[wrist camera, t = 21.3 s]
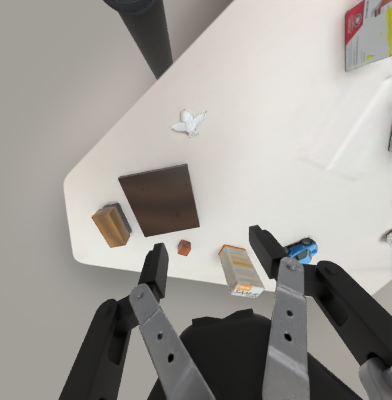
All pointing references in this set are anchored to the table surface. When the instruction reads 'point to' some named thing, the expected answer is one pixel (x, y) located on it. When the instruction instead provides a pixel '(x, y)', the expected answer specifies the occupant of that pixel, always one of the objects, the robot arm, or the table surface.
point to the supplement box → (240, 272)
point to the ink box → (368, 33)
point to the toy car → (303, 251)
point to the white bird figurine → (189, 122)
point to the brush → (112, 225)
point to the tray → (161, 200)
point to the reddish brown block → (184, 248)
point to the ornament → (389, 238)
